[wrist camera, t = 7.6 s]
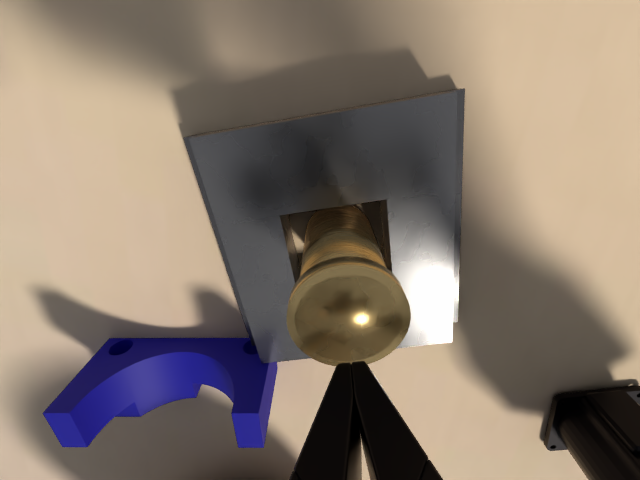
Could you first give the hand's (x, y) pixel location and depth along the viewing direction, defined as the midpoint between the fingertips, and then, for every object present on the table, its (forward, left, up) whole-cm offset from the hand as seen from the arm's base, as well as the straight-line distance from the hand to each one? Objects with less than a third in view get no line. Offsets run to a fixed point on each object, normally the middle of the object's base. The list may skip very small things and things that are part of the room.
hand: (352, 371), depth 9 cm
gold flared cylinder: (0, 0, -10) cm, 10 cm away
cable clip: (-9, +12, -11) cm, 18 cm away
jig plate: (0, 0, -10) cm, 10 cm away
